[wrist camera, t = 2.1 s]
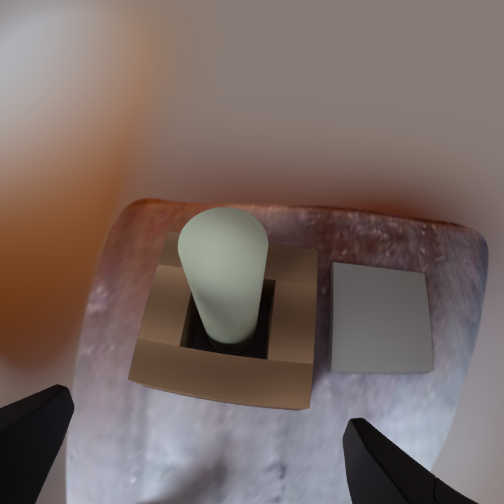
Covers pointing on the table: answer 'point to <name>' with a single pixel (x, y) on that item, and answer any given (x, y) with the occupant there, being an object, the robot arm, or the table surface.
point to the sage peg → (225, 273)
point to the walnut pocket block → (223, 365)
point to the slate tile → (378, 321)
